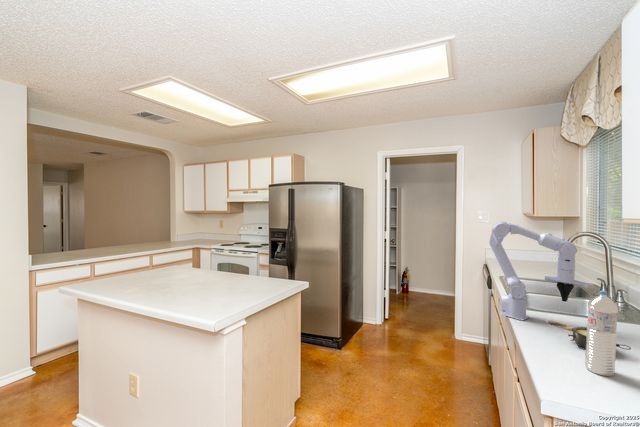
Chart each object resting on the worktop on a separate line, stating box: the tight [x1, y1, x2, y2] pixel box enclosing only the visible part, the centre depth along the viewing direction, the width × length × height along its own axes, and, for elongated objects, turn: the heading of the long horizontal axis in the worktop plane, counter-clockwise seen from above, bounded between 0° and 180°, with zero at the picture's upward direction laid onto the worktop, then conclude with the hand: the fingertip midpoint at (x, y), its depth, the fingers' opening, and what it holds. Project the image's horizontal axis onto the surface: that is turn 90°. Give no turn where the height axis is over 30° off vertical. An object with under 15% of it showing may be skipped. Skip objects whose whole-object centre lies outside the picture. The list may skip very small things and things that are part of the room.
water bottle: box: [584, 290, 619, 377], centre depth 95 cm, size 7×7×25 cm
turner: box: [547, 320, 576, 332], centre depth 129 cm, size 14×4×1 cm, turn 38°
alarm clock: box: [567, 326, 632, 350], centre depth 110 cm, size 11×5×16 cm
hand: (564, 300), depth 132 cm, fingers closed
